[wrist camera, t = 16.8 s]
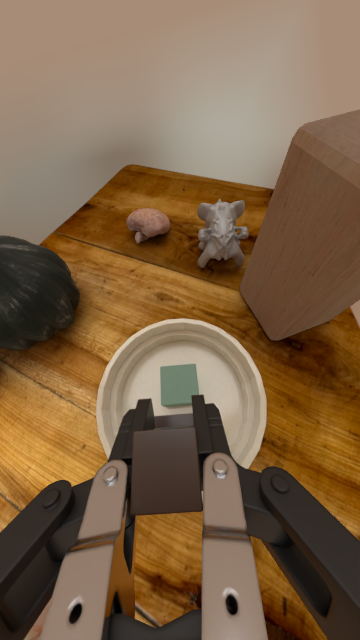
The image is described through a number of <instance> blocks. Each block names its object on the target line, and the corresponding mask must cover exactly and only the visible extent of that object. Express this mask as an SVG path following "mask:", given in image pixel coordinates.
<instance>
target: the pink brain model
mask: <svg viewBox="0 0 360 640" xmlns="http://www.w3.org/2000/svg"><path fill="white" fill-rule="evenodd" d="M126 222H127V226H128V228H129V229H130V230H131V231H136V230H137V233H136V235H135V240H136V243H140V241H145V240H147V239H148V238H150V237H154V236H156V235H158V234H164V233H167V232H168V230H169V229H170V221H169V219H168V217H167V216H166V215H165V214H163V213H162V212H160V211H159V210H157V209H151V208H150V209H145V208H144V209H139V210H136V211H134V212H132V214H130V215H129V217H128V219H127V221H126Z"/></svg>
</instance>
